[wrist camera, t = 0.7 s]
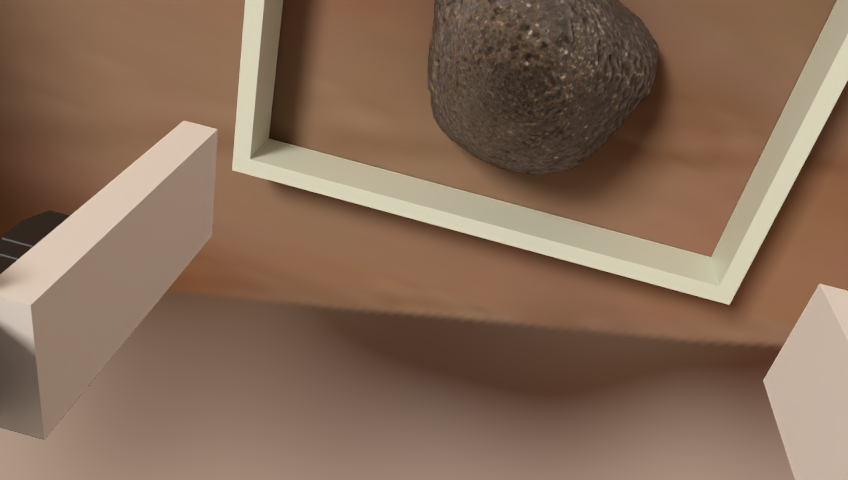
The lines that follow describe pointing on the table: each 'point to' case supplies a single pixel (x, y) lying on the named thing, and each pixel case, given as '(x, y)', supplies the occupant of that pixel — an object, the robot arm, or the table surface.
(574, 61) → the stone
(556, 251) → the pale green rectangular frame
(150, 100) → the table surface
